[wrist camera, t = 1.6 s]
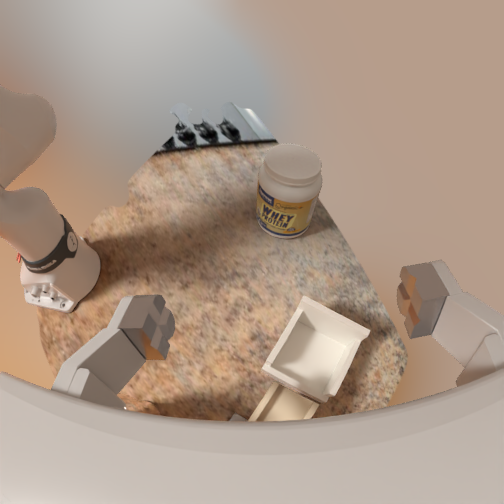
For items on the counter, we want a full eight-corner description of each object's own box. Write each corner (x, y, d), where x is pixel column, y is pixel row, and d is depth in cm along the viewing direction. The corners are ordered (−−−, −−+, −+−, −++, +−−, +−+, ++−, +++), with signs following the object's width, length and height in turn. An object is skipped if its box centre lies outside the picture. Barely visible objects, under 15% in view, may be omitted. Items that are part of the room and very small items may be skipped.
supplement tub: (245, 227, 60) (246, 166, 46) (270, 192, 66) (275, 133, 52) (298, 250, 57) (314, 192, 43) (317, 211, 63) (334, 154, 49)
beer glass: (122, 402, 39) (77, 394, 27) (156, 394, 41) (121, 384, 28) (134, 439, 36) (92, 445, 23) (170, 431, 38) (138, 437, 25)
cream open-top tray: (321, 403, 41) (338, 400, 33) (260, 371, 44) (264, 362, 36) (350, 344, 47) (370, 330, 39) (294, 315, 50) (303, 295, 42)
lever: (260, 483, 31) (256, 530, 17) (215, 459, 33) (188, 496, 19) (315, 402, 37) (343, 415, 22) (270, 379, 39) (272, 379, 24)
